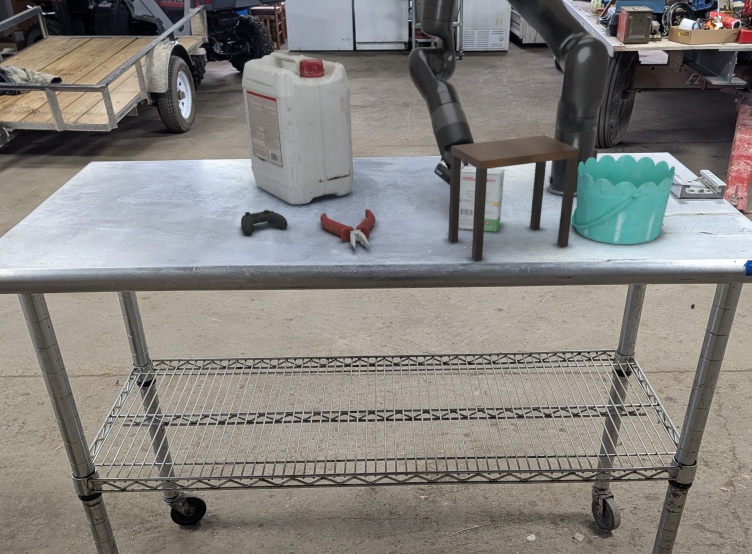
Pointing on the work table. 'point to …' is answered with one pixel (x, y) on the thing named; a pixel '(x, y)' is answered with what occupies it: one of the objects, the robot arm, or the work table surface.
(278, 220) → the gaming controller
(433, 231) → the work table surface
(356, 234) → the pliers
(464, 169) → the ink box
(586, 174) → the basket
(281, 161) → the jerry can
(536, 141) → the small table
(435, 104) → the robot arm
